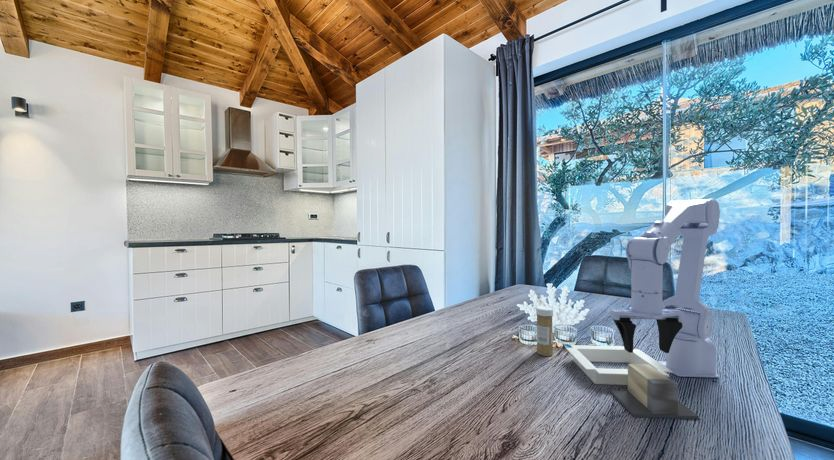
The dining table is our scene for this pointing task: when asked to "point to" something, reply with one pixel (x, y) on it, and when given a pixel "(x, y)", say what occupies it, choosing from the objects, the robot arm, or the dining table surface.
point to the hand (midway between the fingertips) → (646, 351)
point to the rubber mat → (641, 411)
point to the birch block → (653, 389)
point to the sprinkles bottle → (544, 330)
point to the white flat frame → (610, 354)
